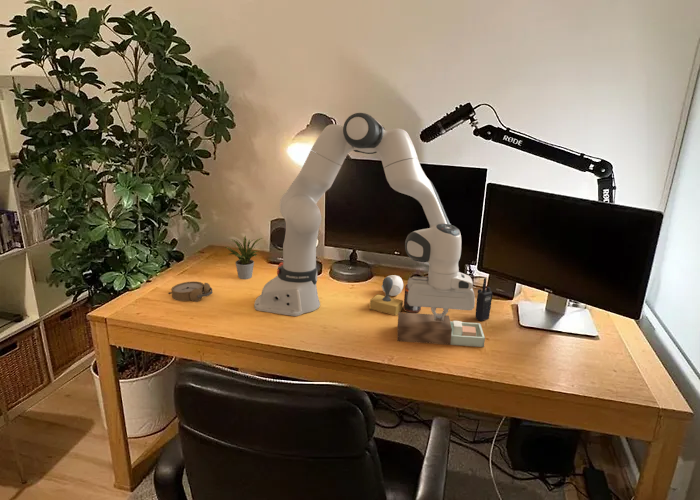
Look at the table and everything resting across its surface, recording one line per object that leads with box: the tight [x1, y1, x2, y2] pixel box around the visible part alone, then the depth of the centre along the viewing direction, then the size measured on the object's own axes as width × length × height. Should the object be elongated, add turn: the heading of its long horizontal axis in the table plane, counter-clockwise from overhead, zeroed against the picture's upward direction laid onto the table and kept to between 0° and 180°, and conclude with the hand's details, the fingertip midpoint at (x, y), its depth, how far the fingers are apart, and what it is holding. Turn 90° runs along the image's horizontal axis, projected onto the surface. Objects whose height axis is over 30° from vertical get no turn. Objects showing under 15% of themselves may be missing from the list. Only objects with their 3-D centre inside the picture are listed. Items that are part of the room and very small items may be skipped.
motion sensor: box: [381, 274, 404, 297], centre depth 196 cm, size 8×8×8 cm
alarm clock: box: [168, 281, 213, 303], centre depth 191 cm, size 11×5×15 cm
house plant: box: [224, 235, 263, 280], centre depth 209 cm, size 14×14×16 cm
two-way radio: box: [474, 277, 493, 322], centre depth 179 cm, size 6×4×15 cm
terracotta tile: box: [462, 326, 476, 337], centre depth 167 cm, size 4×4×2 cm
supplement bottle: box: [403, 277, 422, 314], centre depth 184 cm, size 6×6×11 cm
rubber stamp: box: [369, 276, 404, 316], centre depth 184 cm, size 10×6×12 cm, turn 62°
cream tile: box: [452, 320, 463, 336], centre depth 167 cm, size 4×4×2 cm
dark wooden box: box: [396, 311, 452, 346], centre depth 167 cm, size 16×10×5 cm, turn 85°
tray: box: [450, 320, 486, 348], centre depth 167 cm, size 10×10×3 cm
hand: (438, 320), depth 166 cm, fingers closed
